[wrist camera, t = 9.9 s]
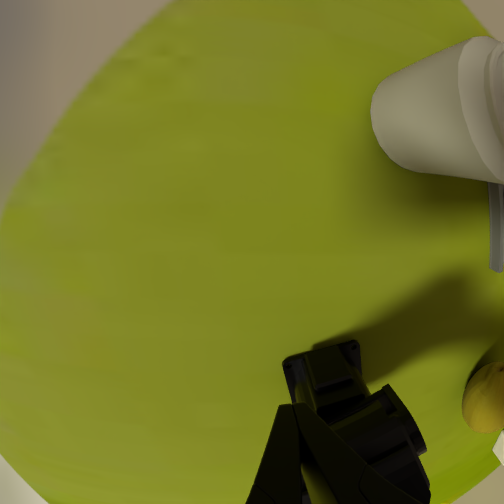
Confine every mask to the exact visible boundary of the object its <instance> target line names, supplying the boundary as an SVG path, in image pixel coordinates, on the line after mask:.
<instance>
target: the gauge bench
mask: <svg viewBox="0 0 504 504" xmlns="http://www.w3.org/2000/svg"><path fill="white" fill-rule="evenodd" d="M503 185H504V184H499V183H493V182H488V193H489V209H490V266H489V268H490V269H492V270H494V271H496V272H498V273H500V272H502V271H503V263H504V200H503Z"/></svg>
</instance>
